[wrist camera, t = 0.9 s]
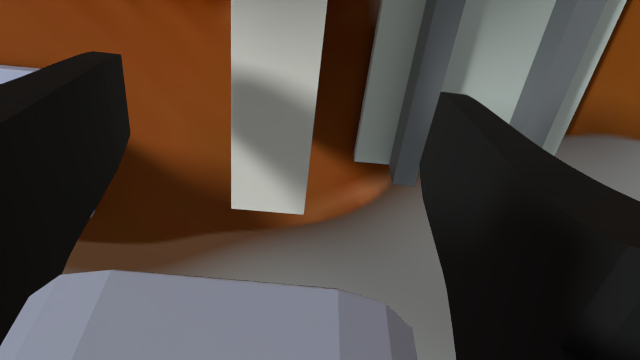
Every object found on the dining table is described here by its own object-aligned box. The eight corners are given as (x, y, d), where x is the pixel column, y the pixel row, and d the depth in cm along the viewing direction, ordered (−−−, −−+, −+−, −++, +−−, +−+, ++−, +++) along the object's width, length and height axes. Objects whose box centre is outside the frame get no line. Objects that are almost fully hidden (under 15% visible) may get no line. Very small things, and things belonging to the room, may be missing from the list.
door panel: (254, 105, 22) (231, 208, 17) (262, -167, 16) (231, -148, 11) (308, 111, 23) (303, 214, 17) (336, -158, 17) (342, -135, 11)
